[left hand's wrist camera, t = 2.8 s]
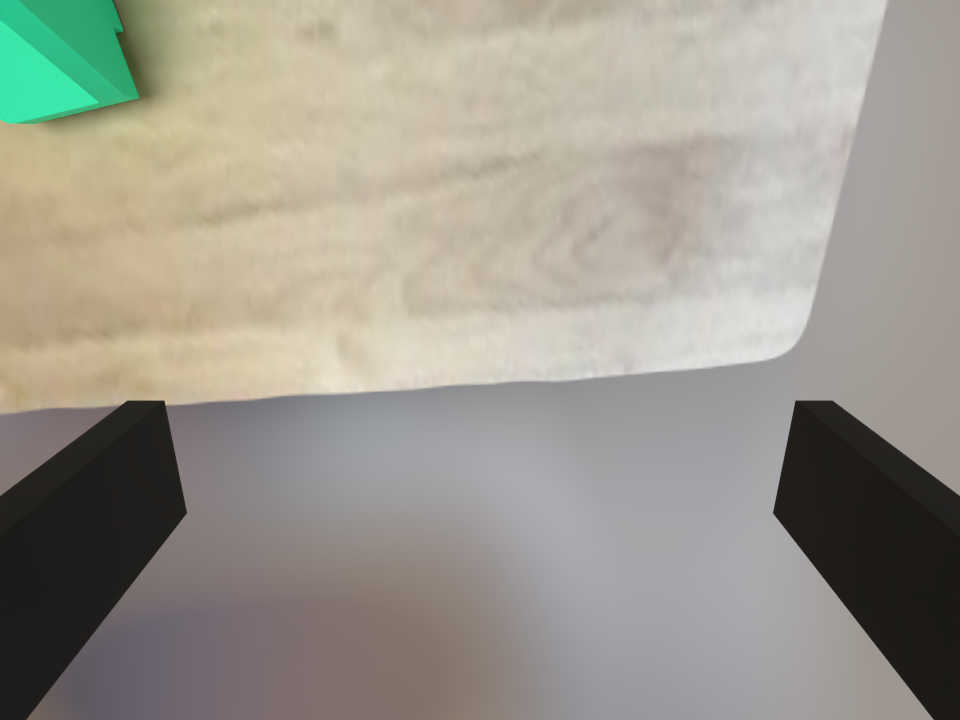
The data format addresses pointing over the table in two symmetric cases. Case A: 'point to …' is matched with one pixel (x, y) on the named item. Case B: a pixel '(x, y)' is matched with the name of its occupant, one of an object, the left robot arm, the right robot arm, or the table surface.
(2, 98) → the camera mount
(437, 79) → the table surface
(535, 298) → the table surface
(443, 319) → the table surface
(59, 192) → the table surface
